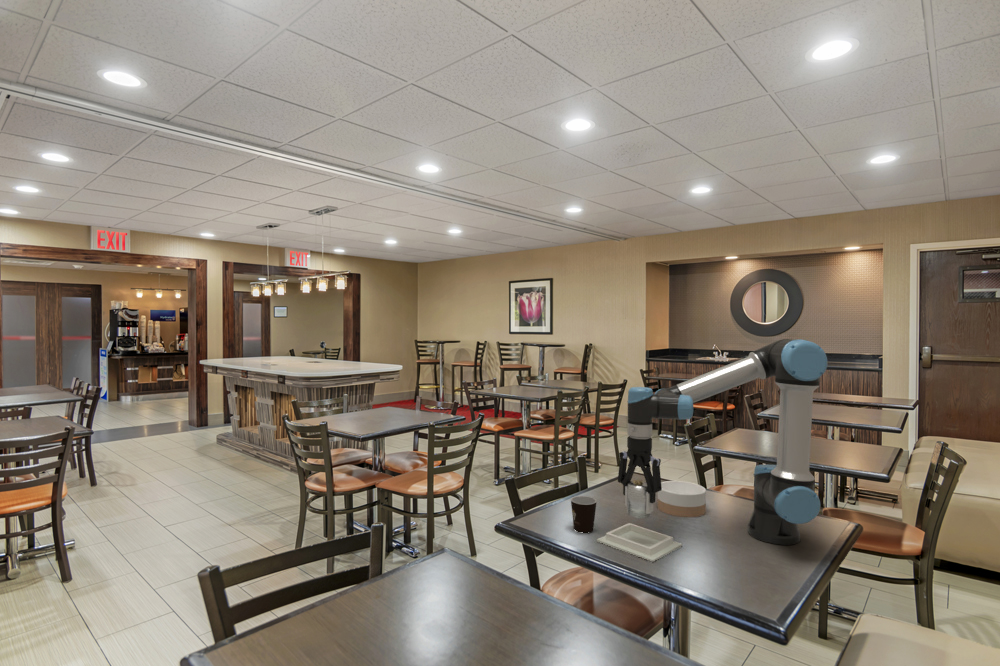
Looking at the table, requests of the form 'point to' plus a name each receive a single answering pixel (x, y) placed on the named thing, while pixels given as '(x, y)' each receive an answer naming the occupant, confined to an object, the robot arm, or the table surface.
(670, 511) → the bowl
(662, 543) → the guarded tray
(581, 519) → the coffee mug
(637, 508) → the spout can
